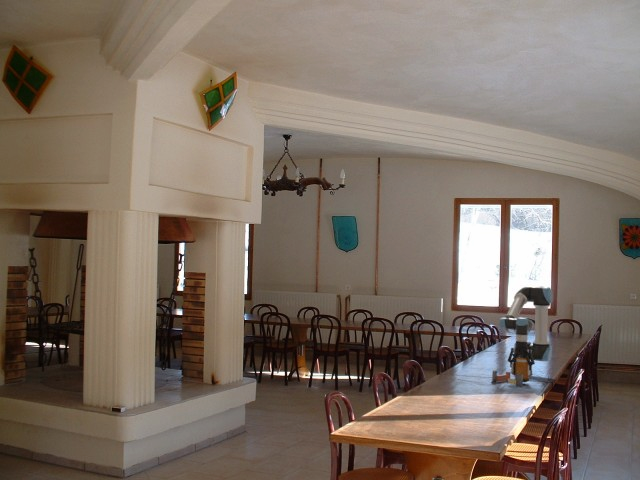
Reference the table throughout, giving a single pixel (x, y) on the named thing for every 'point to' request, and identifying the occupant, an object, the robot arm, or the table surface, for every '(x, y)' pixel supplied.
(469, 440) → the table surface
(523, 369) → the canister
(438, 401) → the table surface
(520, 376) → the grey hammer
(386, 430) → the table surface
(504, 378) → the pink l-shaped bracket
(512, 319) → the robot arm
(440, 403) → the table surface
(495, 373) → the post
